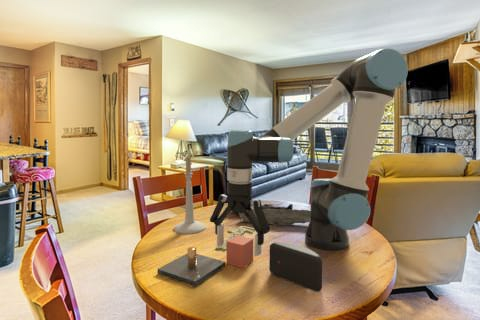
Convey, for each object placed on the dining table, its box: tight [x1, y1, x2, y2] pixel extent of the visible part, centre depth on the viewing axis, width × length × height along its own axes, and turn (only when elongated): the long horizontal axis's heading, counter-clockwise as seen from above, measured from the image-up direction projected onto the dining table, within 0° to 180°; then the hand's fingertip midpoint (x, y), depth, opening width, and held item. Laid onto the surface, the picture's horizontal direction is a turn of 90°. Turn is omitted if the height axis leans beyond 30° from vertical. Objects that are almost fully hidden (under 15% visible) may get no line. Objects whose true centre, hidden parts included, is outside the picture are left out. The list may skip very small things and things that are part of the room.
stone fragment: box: [237, 208, 311, 227], centre depth 135 cm, size 31×9×5 cm
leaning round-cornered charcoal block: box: [268, 241, 324, 292], centre depth 87 cm, size 16×5×9 cm, turn 48°
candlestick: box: [173, 155, 207, 235], centre depth 129 cm, size 13×13×30 cm
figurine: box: [227, 203, 294, 214], centre depth 149 cm, size 20×9×30 cm
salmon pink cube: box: [225, 235, 254, 269], centre depth 99 cm, size 6×6×7 cm
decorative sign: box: [215, 225, 256, 252], centre depth 120 cm, size 26×1×10 cm
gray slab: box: [157, 246, 227, 288], centre depth 93 cm, size 14×14×6 cm
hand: (238, 249), depth 99 cm, fingers open, 13 cm apart
